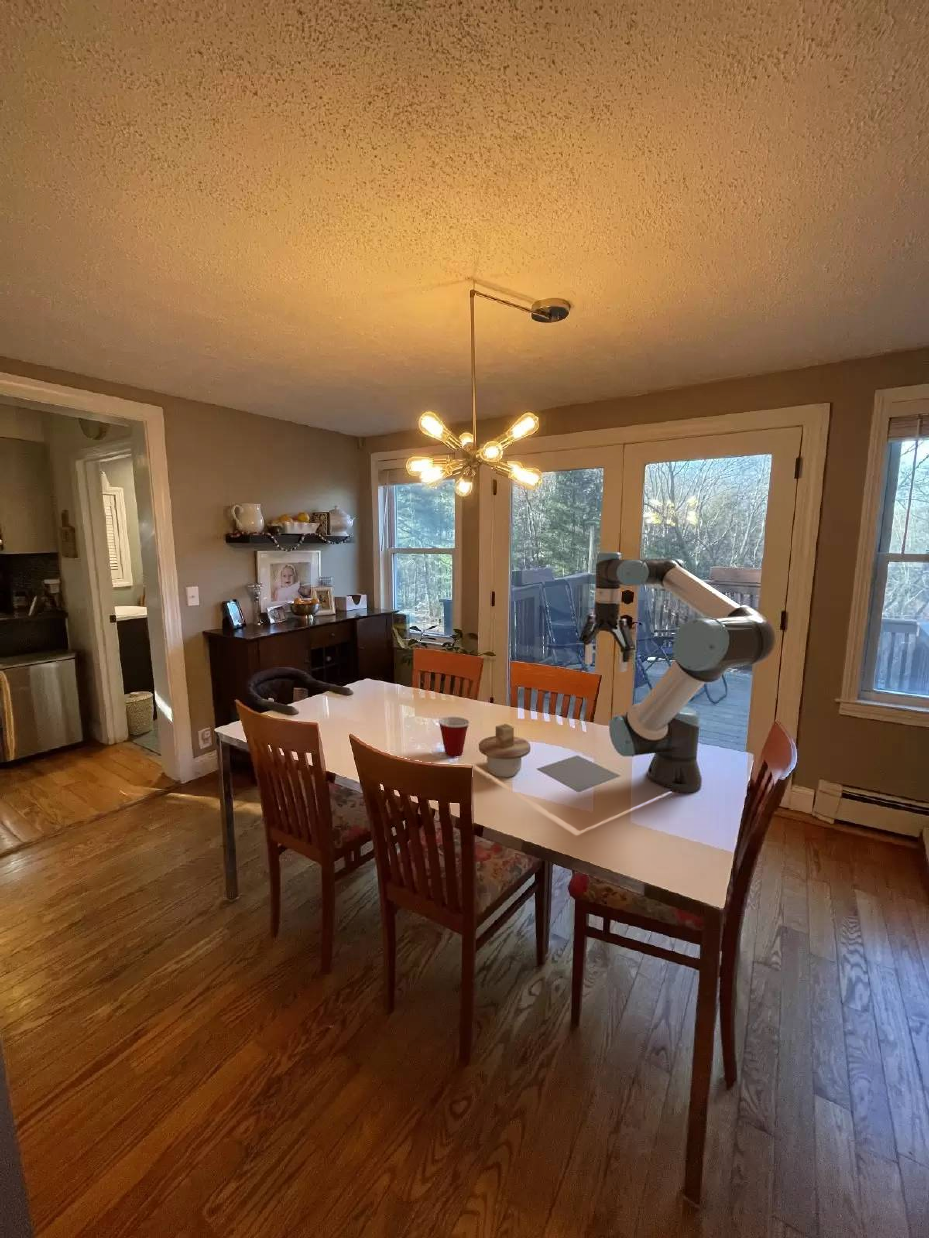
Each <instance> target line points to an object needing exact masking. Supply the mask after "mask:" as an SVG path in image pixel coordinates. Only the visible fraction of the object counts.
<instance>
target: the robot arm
mask: <svg viewBox="0 0 929 1238" xmlns="http://www.w3.org/2000/svg"><path fill="white" fill-rule="evenodd" d="M594 585H595V591H594V592H595V595H594V596H595V597H594V599H595V601H596V602H595V603H594V614H588V615H587V617H586V622H585V625H584V627H583V629H582V631H581V633H580V635H579V637H578V641H579V642H582V643H583V653H584V665H591V664H593V650H594V649H593V648H594V645H593V644H594V643H593V641H594V639H595V638H596V637H597V636H598V634H599V633H600V632H601V631H605V632H607V633H609V632H610V634H611V635H612V636H613V638H614V639H615V641H616V642H617V645H618V646H619V648H620V649H621V650H620V651H619V658H618V659H619V663H618V665H619V667H618V673H621V674H622V673H626V672H628V671H627V669H628V667H627V666H628V662H629V661H630V652H631V651H634V650H636V646H635V643H634V640H633V637H632V635H631V632H630V629H629V625H628V619H627V618H622V619H619V614H620V601H621V585H623V586H627V587H639V586H641V585H642V586H643V585H660V586H661V587H662V588H664V589H665V590H666V591H668V592H670V594H672V595H674V596H675V597H676V598H677V599H678V600H680V601H681V602H682V603H684V604H685V605H686V606H688V607H689V608H690V609H692V610H693V611H694V612H696V613H697V614H698V615H700V616H701V617H699V618H694V619H689V620H687V621H685V622H683V623H682V624H681V625H680V626H679V627H678V629H677V630H676V632H675V634H674V636H673V641H674V643H672V650H673V651H672V652H673V659H674V661H673V662H672V664H671V665H670V666H669V668H667V670H666V671H665V673H664V674H663V675H662V676H661V677H660V679H659V680H657V683H656V684H654V686H653V688H652V689H651V690H650V691H649V693H648V694H647V695H646V696H645V698H643V700H642V702H638V703H634V704H633V705H631V706H630V707H629V708H628V710H627V711H626V712H625V713H624V714H622V715H620V714H617V715H614V716H613V717H612V718H610V721H609V726H608V731H609V738H610V741H611V743H612V745H613V748H614V749H615V751H616V752H617V754H619V755H620V756H622V757H626V758H627V757H632V758H633V757H635V756H644V755H649V754H650V755H651V754H653V756H652V759H651V760H650V761H651V762H650V764H649V765H648V769H647V778H648V779H649V780H650V781H651V782H652V783H654V784H655V785H657V786H659V787H661V788H665V789H669V792H672V793H679V794H688V793H689V794H690V793H695V792H697V791H699V790H700V789H701V788H702V782H703V779H702V775H701V771H700V767H699V765H698V764H699V763H698V760H697V759H698V747H699V746H698V744H699V734H700V732H699V731H700V715H699V713H698V712H697V711H696V710H694V709H692V708H690V707H687V706H686V705H687V703H689V702H690V700H691V699H692V698H693V697H694V696H695V695H696V694H697V693H698V691H699V690H701V688H702V687H703V686H705V684H709V683H711V684H712V683H714V682H716V681H718V680H719V679H720V678H721V676H723V675H724V673H726V671H727V670H728V669H731V668H735V667H747V666H754V665H757V664H761V662H764V661H765V660H766V659H767V658H768V657H770V656H771V654H772V653H773V651H774V648H775V645H776V639H777V638H776V633H775V629H774V628H773V625H772V624H771V622H770V621H769V620H768V619H767V618H766V616H764V615H762V614H761V613H760V612H759V611H757V610H755V609H754V608H752V607H750V606H748V605H739V604H738V603H737V602H735V601H733V600H732V599H730V598H729V597H727V596H726V595H724V594H723V593H721V592H719V591H718V590H717V589H715V588H713V587H712V586H711V585H709V584H708V583H706V582H705V581H702V580H701V579H700V578H698V577H696V576H695V575H694V574H692V573H690V572H689V571H688V568H687V565H686V564H685V561H683V560H682V559H680V558H673V557H671V558H670V557H669V558H668V557H667V558H652V559H651V558H642V559H641V558H637V559H635V558H633V559H631V558H630V559H629V558H628V559H622V553H621V552H618V551H606V552H605V551H601V552H597V554H596V561H595V584H594Z"/></svg>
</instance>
